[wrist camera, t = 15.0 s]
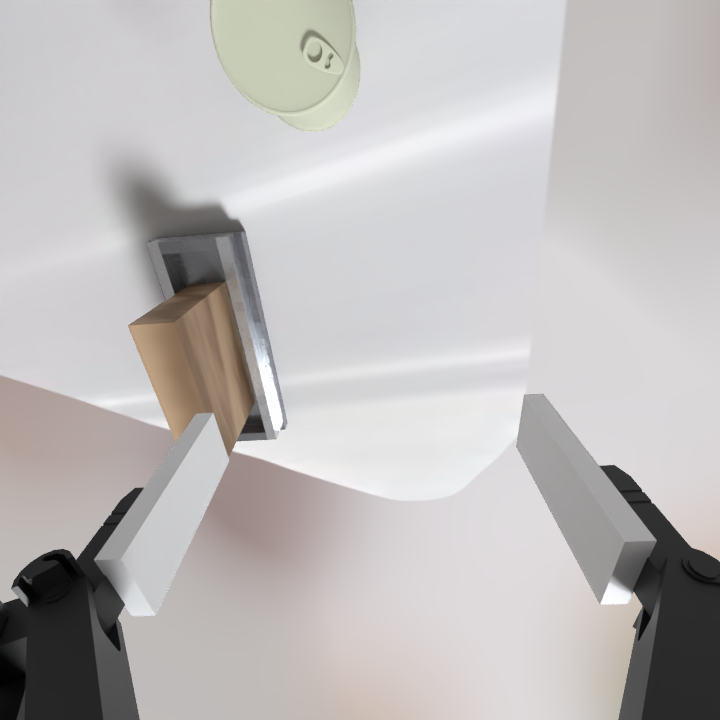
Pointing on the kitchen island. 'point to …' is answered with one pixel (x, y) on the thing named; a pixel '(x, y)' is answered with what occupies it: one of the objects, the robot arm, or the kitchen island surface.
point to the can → (290, 56)
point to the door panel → (196, 360)
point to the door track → (234, 267)
